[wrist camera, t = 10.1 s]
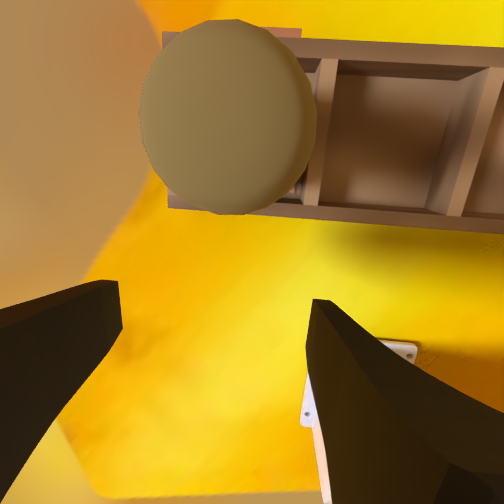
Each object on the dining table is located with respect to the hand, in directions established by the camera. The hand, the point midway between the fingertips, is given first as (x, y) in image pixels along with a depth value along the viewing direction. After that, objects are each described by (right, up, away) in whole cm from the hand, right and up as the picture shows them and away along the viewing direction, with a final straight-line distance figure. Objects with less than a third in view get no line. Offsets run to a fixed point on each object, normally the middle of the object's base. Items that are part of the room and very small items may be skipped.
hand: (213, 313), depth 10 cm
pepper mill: (+1, +9, +7) cm, 12 cm away
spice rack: (+9, +9, +7) cm, 15 cm away
